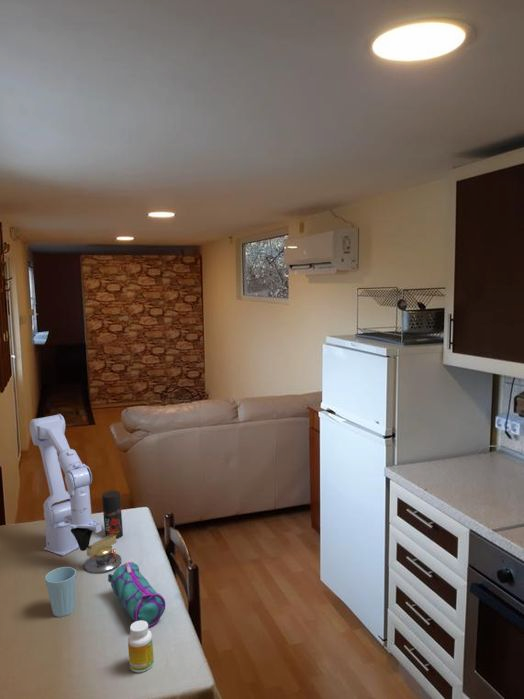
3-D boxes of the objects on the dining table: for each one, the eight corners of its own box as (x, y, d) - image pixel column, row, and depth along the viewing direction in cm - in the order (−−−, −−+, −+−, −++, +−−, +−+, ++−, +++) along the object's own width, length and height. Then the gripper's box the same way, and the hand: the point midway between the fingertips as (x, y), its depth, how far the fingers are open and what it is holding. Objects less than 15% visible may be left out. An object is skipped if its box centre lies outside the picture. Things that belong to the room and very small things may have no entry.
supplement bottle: (152, 672, 123) (149, 632, 122) (127, 674, 123) (125, 634, 121) (155, 655, 128) (152, 617, 127) (131, 657, 128) (128, 619, 127)
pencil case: (108, 596, 153) (106, 564, 151) (139, 585, 158) (137, 554, 156) (135, 636, 136) (133, 600, 134) (168, 623, 140) (166, 588, 139)
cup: (79, 599, 152) (76, 564, 150) (78, 616, 144) (75, 579, 143) (50, 605, 149) (46, 569, 148) (47, 622, 142) (44, 584, 141)
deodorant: (125, 531, 191) (122, 490, 189) (119, 540, 185) (116, 497, 183) (109, 531, 192) (105, 490, 190) (102, 539, 186) (99, 497, 184)
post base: (76, 567, 168) (75, 553, 168) (104, 551, 178) (103, 537, 177) (102, 577, 163) (100, 562, 162) (128, 560, 172) (127, 545, 171)
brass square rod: (82, 557, 167) (81, 546, 166) (107, 542, 175) (106, 532, 175) (96, 562, 164) (95, 550, 163) (121, 547, 172) (120, 536, 172)
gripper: (54, 507, 166) (57, 549, 168) (86, 516, 159) (90, 560, 161) (72, 498, 172) (76, 539, 174) (105, 507, 165) (108, 550, 167)
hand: (84, 549), depth 168 cm, fingers closed
